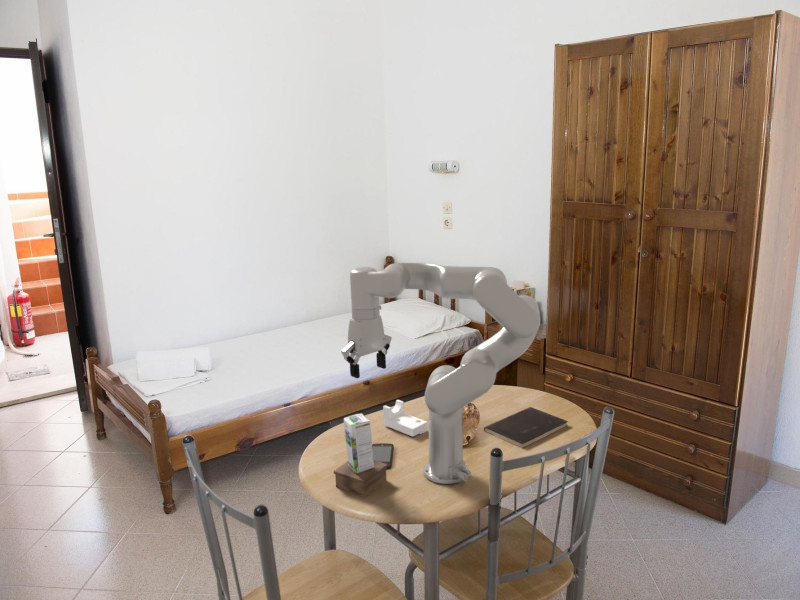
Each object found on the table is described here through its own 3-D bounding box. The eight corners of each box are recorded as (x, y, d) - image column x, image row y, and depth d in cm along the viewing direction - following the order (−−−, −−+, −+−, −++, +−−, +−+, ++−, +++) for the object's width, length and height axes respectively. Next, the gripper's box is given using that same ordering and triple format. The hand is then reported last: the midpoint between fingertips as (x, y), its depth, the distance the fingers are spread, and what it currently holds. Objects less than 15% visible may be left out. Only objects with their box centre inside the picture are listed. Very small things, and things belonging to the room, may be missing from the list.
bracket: (383, 427, 209) (383, 406, 207) (398, 420, 214) (397, 399, 212) (412, 439, 200) (412, 417, 198) (427, 431, 205) (427, 410, 203)
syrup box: (347, 465, 175) (341, 418, 171) (366, 458, 178) (361, 412, 174) (355, 474, 170) (350, 426, 166) (375, 467, 173) (370, 419, 169)
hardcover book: (567, 427, 207) (568, 421, 206) (522, 450, 193) (522, 443, 192) (528, 412, 219) (529, 406, 218) (483, 432, 204) (483, 426, 204)
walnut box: (387, 481, 176) (387, 464, 175) (365, 499, 168) (365, 481, 167) (357, 471, 182) (356, 454, 181) (334, 488, 174) (333, 471, 172)
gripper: (380, 304, 180) (382, 361, 184) (332, 317, 168) (335, 377, 172) (398, 308, 174) (400, 367, 179) (349, 322, 163) (353, 384, 167)
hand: (368, 372), depth 175 cm, fingers open, 9 cm apart
